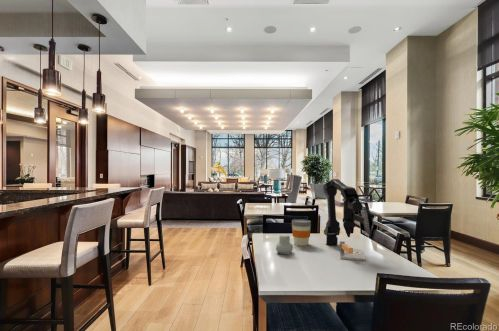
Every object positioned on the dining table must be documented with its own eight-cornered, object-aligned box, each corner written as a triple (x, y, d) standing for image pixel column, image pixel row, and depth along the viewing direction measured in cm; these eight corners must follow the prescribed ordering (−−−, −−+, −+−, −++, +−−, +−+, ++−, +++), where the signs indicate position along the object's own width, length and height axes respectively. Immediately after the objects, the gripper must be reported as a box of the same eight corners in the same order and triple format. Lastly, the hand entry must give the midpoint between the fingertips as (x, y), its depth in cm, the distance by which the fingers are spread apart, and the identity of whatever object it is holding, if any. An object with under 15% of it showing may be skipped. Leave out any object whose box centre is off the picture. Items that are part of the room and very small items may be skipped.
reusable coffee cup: (313, 243, 186) (313, 220, 186) (306, 247, 175) (307, 223, 176) (296, 240, 193) (296, 218, 193) (288, 244, 182) (288, 221, 182)
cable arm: (338, 247, 163) (338, 241, 163) (343, 247, 163) (343, 241, 163) (348, 253, 150) (348, 247, 150) (353, 253, 150) (353, 247, 150)
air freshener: (289, 256, 156) (289, 238, 157) (275, 254, 159) (275, 236, 159) (293, 251, 167) (293, 234, 167) (279, 249, 169) (279, 233, 170)
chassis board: (340, 258, 152) (340, 253, 152) (339, 249, 171) (339, 244, 172) (364, 261, 149) (364, 255, 149) (361, 251, 168) (361, 246, 168)
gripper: (365, 212, 150) (365, 241, 149) (362, 208, 168) (362, 234, 167) (343, 211, 153) (343, 240, 153) (342, 207, 171) (342, 233, 171)
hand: (348, 236), depth 161 cm, fingers closed
